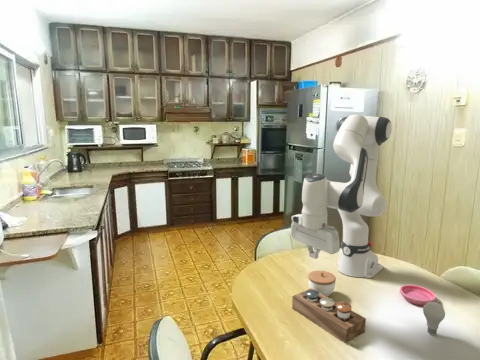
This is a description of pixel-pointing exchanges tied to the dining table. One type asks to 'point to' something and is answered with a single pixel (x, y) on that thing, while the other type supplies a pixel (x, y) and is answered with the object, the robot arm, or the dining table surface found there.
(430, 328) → the lightbulb
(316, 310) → the socket board
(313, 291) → the grey-lidded spice jar
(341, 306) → the copper-lid spice jar
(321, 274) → the lidded jar
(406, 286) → the saucer
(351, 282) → the dining table surface
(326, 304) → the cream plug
